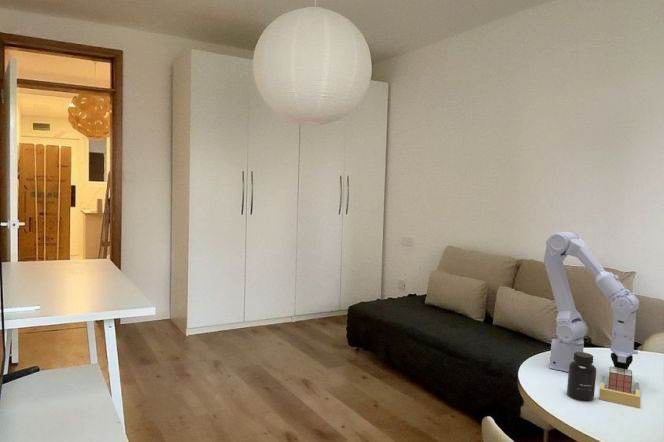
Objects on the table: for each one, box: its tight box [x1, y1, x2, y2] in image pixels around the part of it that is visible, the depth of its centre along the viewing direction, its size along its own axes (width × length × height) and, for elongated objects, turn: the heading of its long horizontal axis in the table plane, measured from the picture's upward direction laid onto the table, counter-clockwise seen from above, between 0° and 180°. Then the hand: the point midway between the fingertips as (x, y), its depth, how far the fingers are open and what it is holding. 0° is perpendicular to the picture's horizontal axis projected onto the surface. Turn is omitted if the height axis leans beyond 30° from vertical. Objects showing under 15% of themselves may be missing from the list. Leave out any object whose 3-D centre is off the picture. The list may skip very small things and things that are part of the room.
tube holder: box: [598, 375, 641, 409], centre depth 139 cm, size 10×13×3 cm
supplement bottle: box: [566, 351, 597, 402], centre depth 137 cm, size 7×7×12 cm
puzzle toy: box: [607, 366, 633, 394], centre depth 143 cm, size 6×6×6 cm
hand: (620, 378), depth 148 cm, fingers closed
